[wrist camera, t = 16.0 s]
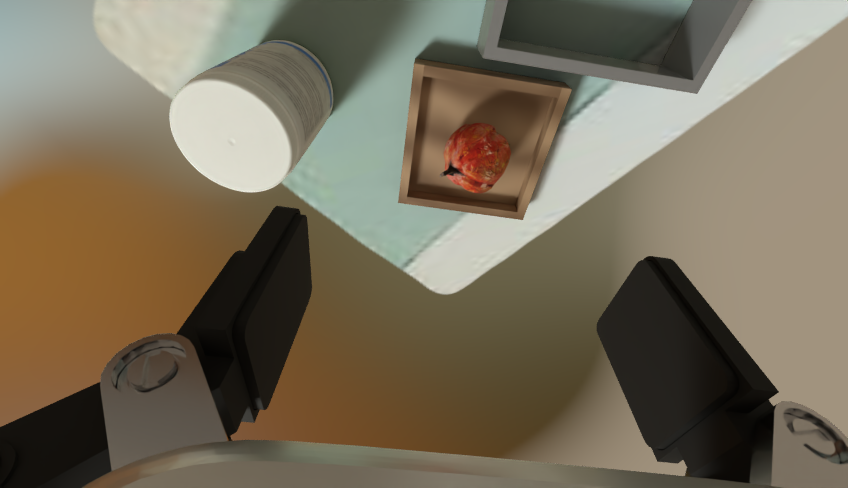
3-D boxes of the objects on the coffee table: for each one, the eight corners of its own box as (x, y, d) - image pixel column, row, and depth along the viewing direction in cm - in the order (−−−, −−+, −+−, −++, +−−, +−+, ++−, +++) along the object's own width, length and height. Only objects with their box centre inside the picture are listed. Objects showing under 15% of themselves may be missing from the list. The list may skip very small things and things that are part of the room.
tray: (415, 58, 37) (414, 63, 35) (564, 82, 38) (571, 89, 36) (399, 192, 47) (398, 202, 45) (519, 209, 48) (522, 219, 46)
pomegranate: (495, 102, 41) (424, 119, 36) (544, 130, 37) (471, 153, 32) (482, 159, 46) (418, 180, 41) (524, 189, 42) (458, 216, 37)
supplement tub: (254, 20, 35) (164, 47, 24) (346, 63, 38) (305, 107, 26) (242, 111, 41) (165, 169, 29) (323, 144, 43) (281, 210, 31)
